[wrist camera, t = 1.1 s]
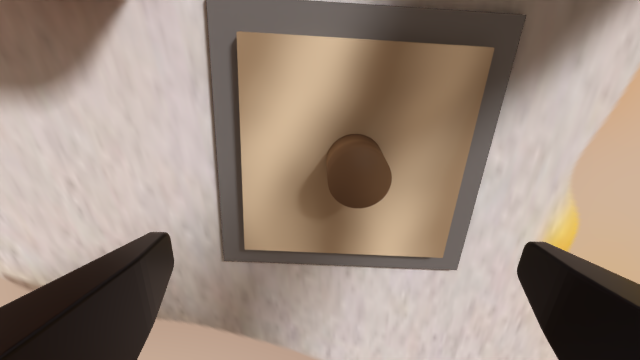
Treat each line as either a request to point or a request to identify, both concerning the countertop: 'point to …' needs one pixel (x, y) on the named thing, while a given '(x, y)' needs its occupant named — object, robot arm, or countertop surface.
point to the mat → (360, 23)
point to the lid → (354, 141)
